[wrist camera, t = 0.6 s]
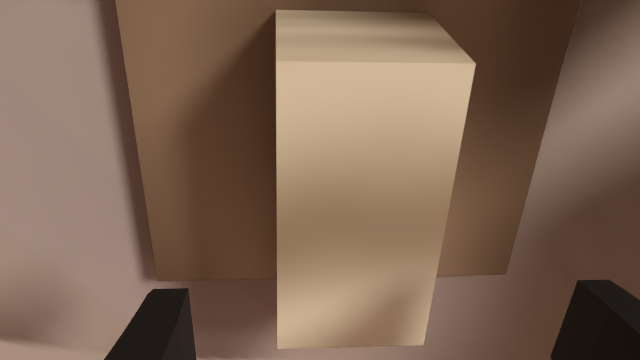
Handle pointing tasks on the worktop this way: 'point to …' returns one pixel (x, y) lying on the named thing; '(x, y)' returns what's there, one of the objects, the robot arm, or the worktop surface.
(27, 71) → the worktop surface
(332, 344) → the birch bar
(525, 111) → the cradle
